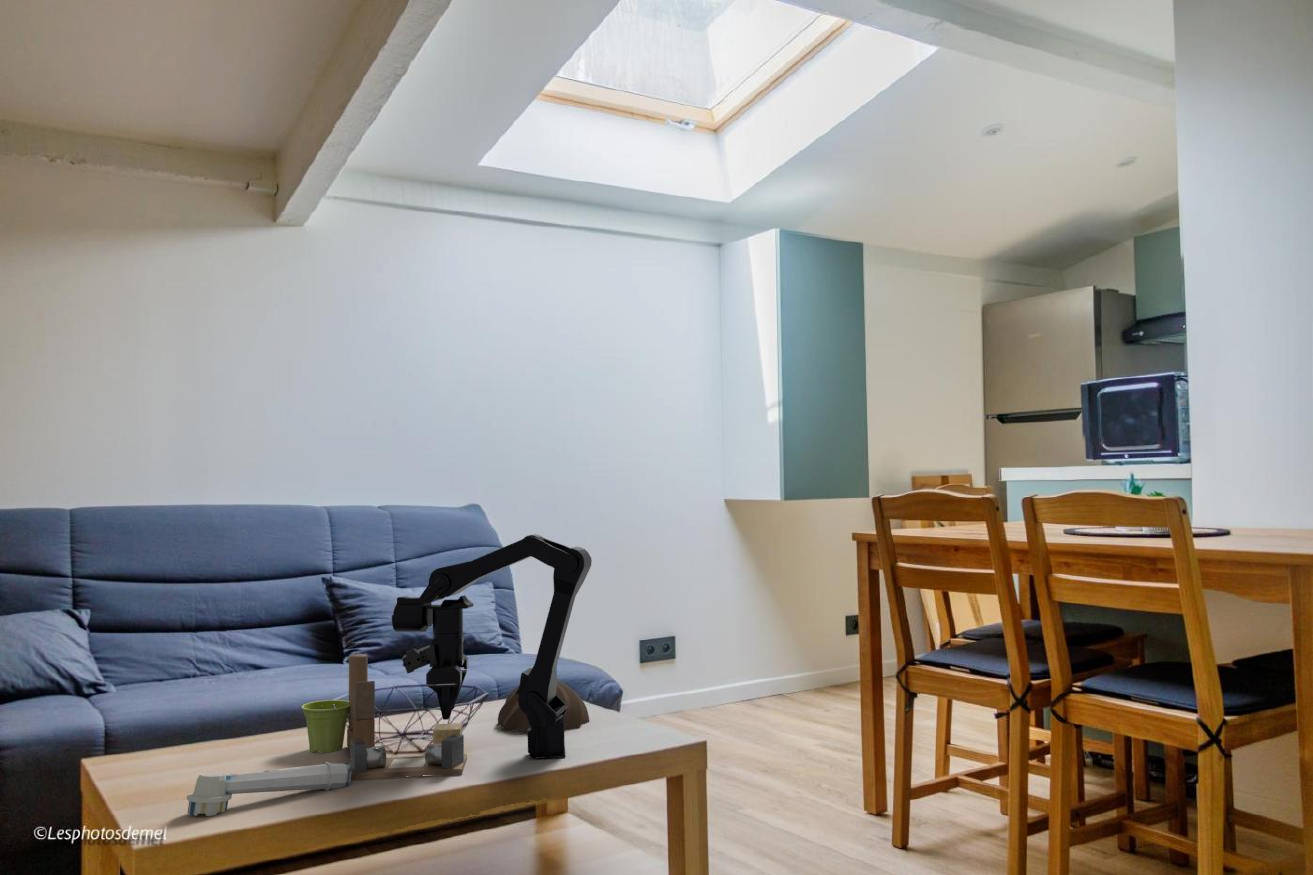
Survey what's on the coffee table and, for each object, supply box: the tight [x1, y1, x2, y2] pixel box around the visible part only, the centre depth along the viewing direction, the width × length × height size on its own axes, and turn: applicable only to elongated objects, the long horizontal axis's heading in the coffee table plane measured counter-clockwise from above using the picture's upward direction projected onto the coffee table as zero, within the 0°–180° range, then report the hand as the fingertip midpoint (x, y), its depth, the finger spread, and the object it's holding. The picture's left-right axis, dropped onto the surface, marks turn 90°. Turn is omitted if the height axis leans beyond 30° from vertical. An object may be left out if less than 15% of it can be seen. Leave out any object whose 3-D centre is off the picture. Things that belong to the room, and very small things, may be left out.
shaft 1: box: [349, 739, 387, 774], centre depth 170 cm, size 6×5×5 cm
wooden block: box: [346, 653, 376, 750], centre depth 187 cm, size 4×11×18 cm, turn 26°
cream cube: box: [432, 722, 463, 744], centre depth 184 cm, size 5×5×5 cm
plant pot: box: [301, 699, 350, 754], centre depth 189 cm, size 9×9×9 cm
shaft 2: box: [424, 734, 465, 769], centre depth 172 cm, size 6×5×5 cm
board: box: [350, 753, 468, 781], centre depth 173 cm, size 20×10×1 cm, turn 97°
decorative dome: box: [497, 679, 590, 735], centre depth 208 cm, size 19×20×10 cm
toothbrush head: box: [186, 761, 351, 817], centre depth 156 cm, size 5×7×25 cm
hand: (448, 714), depth 185 cm, fingers open, 9 cm apart
